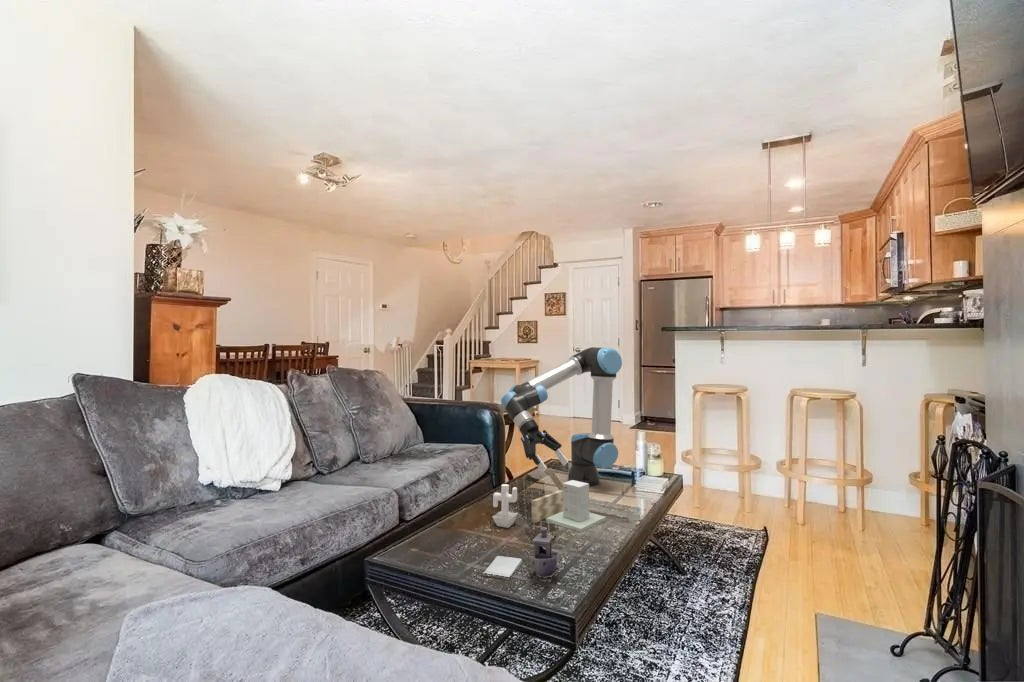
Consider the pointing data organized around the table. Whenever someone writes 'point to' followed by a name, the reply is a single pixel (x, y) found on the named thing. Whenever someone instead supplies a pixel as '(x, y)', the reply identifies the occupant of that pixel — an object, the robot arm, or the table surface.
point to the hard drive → (503, 566)
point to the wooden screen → (547, 506)
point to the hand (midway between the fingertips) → (555, 467)
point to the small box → (576, 500)
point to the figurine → (505, 506)
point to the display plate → (576, 525)
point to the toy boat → (544, 555)
